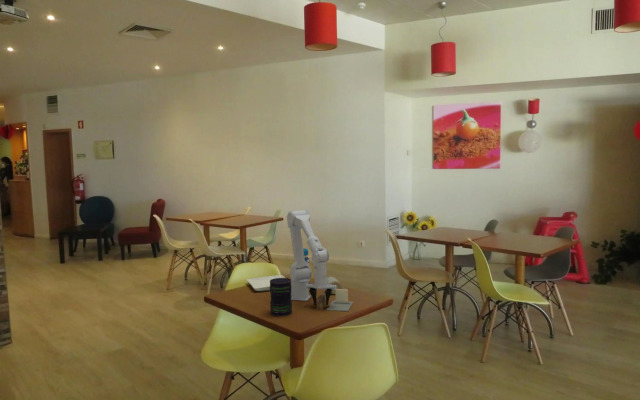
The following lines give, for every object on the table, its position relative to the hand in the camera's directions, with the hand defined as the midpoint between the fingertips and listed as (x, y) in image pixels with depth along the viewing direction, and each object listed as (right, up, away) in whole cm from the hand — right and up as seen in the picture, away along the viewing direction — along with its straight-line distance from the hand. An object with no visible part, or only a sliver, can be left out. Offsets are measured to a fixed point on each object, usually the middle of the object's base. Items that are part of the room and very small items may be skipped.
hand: (321, 304), depth 221 cm
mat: (+9, -1, +1) cm, 9 cm away
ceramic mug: (+7, 0, +24) cm, 25 cm away
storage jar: (-18, -3, -7) cm, 19 cm away
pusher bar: (0, -2, 0) cm, 2 cm away
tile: (+10, 0, +5) cm, 11 cm away
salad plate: (-29, +1, +39) cm, 48 cm away
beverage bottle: (-10, +2, +39) cm, 41 cm away
